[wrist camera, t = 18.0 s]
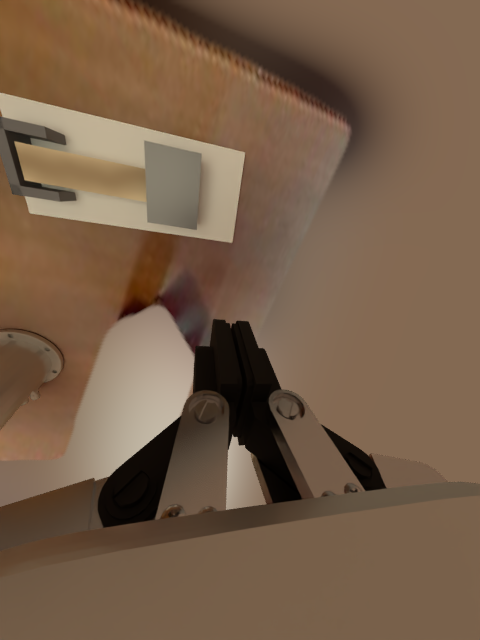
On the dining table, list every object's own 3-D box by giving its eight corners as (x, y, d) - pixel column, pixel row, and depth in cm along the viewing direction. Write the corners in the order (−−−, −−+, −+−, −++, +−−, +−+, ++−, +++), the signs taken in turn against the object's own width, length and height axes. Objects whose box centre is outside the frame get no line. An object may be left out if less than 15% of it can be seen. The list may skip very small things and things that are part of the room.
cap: (197, 224, 33) (196, 230, 28) (155, 217, 31) (147, 222, 26) (201, 160, 29) (201, 153, 24) (154, 149, 27) (143, 140, 22)
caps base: (231, 241, 36) (235, 248, 32) (34, 212, 30) (7, 216, 26) (244, 153, 30) (251, 147, 26) (2, 95, 24) (-40, 74, 20)
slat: (175, 205, 31) (171, 206, 28) (46, 181, 28) (24, 180, 24) (175, 176, 30) (172, 174, 26) (38, 147, 26) (14, 141, 23)
